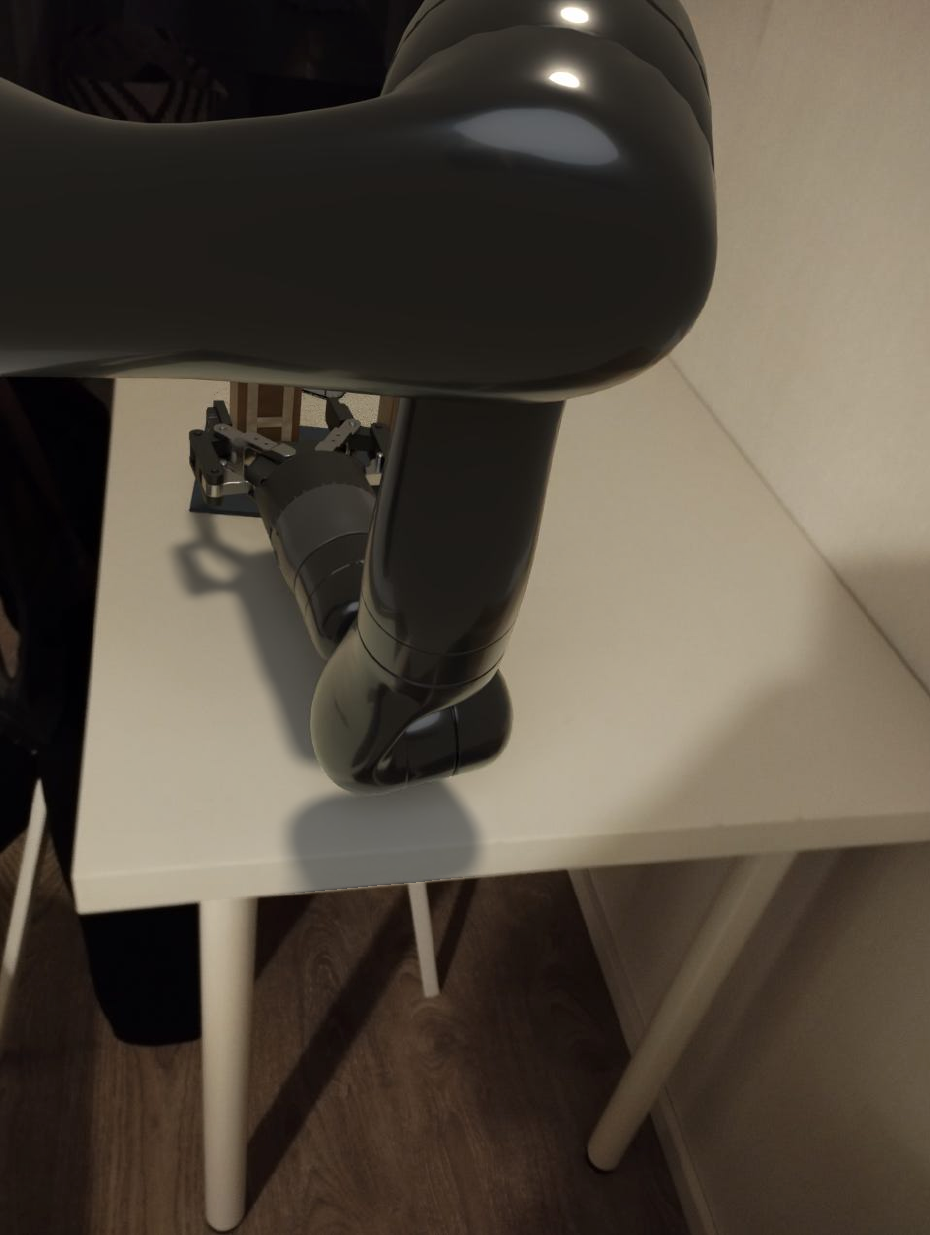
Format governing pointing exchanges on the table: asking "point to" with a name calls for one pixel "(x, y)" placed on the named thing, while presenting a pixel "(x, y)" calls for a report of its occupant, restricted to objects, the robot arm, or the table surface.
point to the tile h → (266, 410)
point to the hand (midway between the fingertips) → (274, 409)
